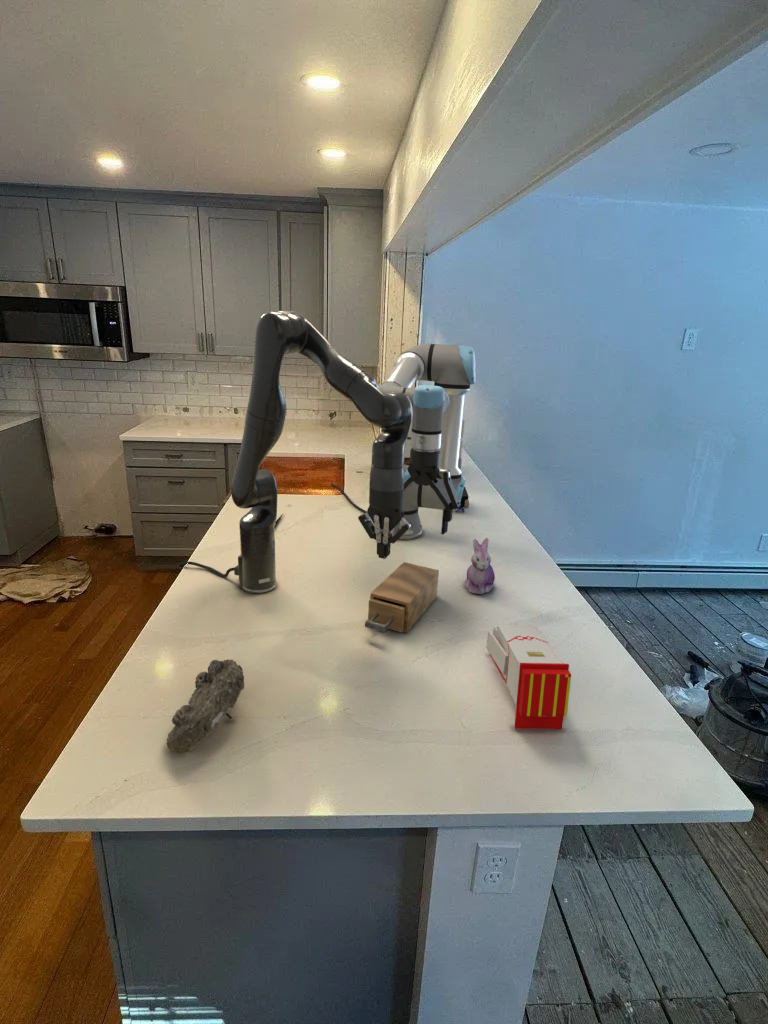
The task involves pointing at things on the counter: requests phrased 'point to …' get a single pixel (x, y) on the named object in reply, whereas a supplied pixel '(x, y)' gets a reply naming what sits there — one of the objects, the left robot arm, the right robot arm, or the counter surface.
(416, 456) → the right robot arm
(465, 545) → the counter surface
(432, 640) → the counter surface
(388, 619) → the drawer
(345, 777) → the counter surface
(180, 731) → the fossil
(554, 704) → the toy
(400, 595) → the cabinet
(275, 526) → the feather
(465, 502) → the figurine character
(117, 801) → the counter surface
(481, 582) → the figurine
